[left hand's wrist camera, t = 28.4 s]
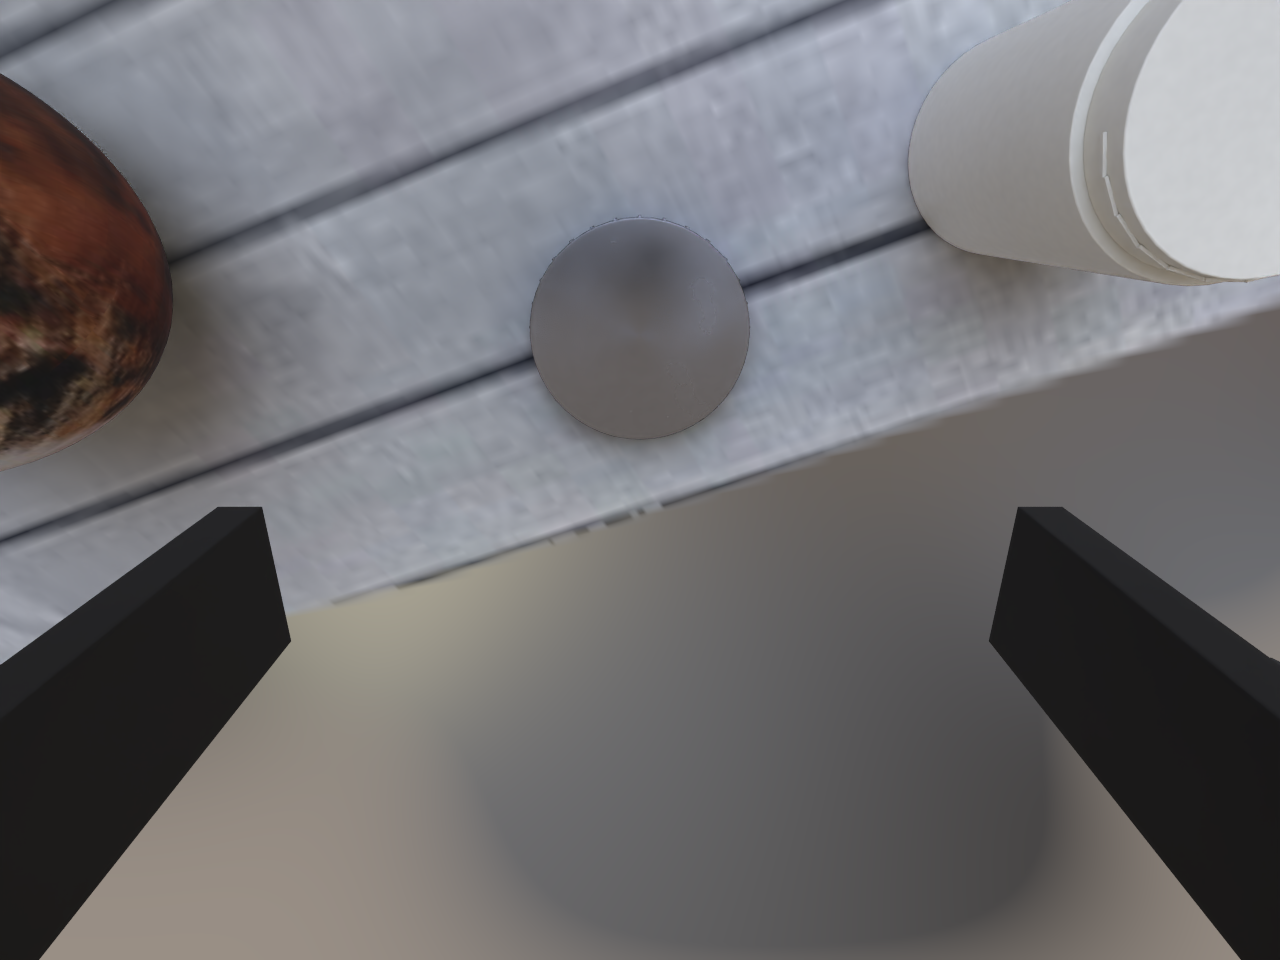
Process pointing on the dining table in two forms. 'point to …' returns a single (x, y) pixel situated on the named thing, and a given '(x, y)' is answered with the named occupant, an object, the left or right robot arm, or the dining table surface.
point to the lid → (639, 328)
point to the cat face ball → (70, 284)
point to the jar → (1113, 142)
